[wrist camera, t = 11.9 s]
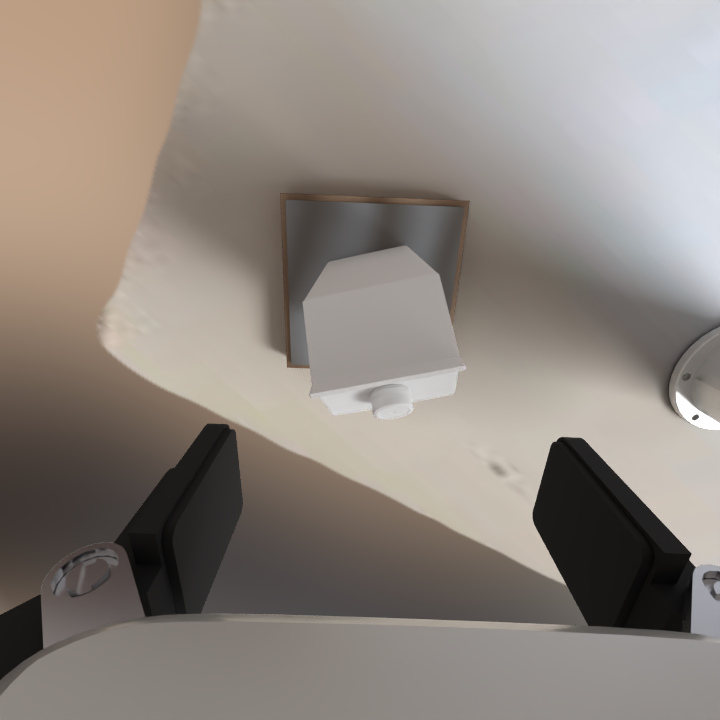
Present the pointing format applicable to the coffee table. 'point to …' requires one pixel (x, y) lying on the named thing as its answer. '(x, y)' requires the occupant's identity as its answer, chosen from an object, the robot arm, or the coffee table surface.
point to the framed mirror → (362, 245)
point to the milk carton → (380, 334)
